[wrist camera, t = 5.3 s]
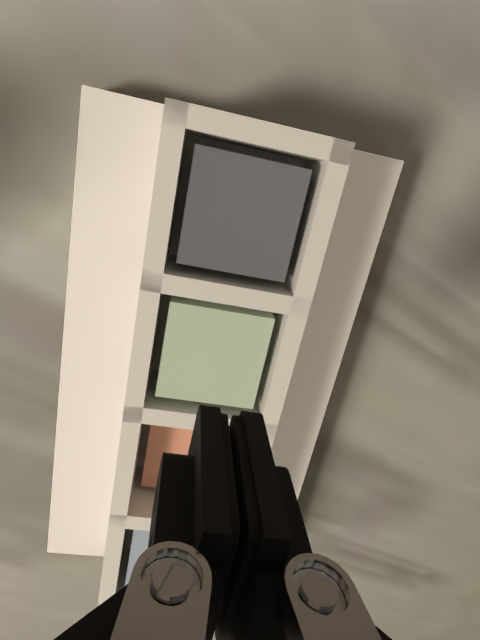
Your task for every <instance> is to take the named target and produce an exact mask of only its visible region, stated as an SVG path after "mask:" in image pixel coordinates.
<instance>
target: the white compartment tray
mask: <svg viewBox="0 0 480 640" xmlns="http://www.w3.org/2000/svg"><path fill="white" fill-rule="evenodd" d="M195 144H199V145H204V146H208V147H213V148H217V149H221V150H226V151H230V152H235V153H239V154H244V155H248V156H253V157H257V158H262V159H266V160H270V161H275V162H279V163H284V164H288V165H293V166H297V167H302V168H306V169H310V170H312V174H311V178H310V182H309V186H308V190H307V194H306V198H305V202H304V206H303V210H302V214H301V218H300V222H299V226H298V230H297V234H296V238H295V242H294V246H293V250H292V254H291V258H290V262H289V266H288V270H287V274H286V278H285V282H284V283H283V282H278V281H272V280H267V279H261V278H256V277H250V276H245V275H239V274H234V273H228V272H222V271H217V270H211V269H206V268H200V267H195V266H189V265H184V264H178V263H176V260H177V253H178V247H179V241H180V235H181V228H182V222H183V216H184V209H185V203H186V197H187V191H188V184H189V178H190V172H191V165H192V159H193V153H194V147H195ZM355 144H356V143H355V142H351V141H347V140H343V139H339V138H334V137H330V136H326V135H322V134H318V133H314V132H309V131H305V130H301V129H297V128H293V127H288V126H284V125H280V124H276V123H272V122H268V121H263V120H259V119H255V118H251V117H247V116H242V115H238V114H234V113H230V112H226V111H221V110H217V109H213V108H209V107H205V106H201V105H196V104H192V103H188V102H184V101H180V100H175V99H171V98H167V97H165V103H164V104H161V103H157V102H153V101H148V100H144V99H140V98H136V97H131V96H127V95H123V94H119V93H115V92H110V91H106V90H102V89H98V88H93V87H89V86H85V85H82V89H81V103H80V116H79V130H78V143H77V157H76V170H75V184H74V197H73V211H72V224H71V238H70V251H69V265H68V278H67V292H66V305H65V319H64V332H63V346H62V359H61V373H60V387H59V400H58V414H57V427H56V441H55V454H54V468H53V481H52V495H51V508H50V522H49V535H48V549H47V552H51V553H65V554H78V555H91V556H104V561H103V569H102V576H101V584H100V591H99V599H98V606H99V605H100V604H102V603H103V602H104V601H106V600H107V599H108V598H110V597H111V596H112V595H114V594H115V593H116V592H118V591H119V590H120V589H122V588H123V587H124V586H125V580H126V574H127V568H128V561H129V555H130V549H131V543H132V536H133V530H143V531H150V525H151V517H152V509H153V502H154V495H155V489H156V487H146V486H141V482H142V476H143V469H144V463H145V457H146V451H147V444H148V438H149V432H150V426H151V425H156V426H164V427H172V428H180V429H189V430H193V429H194V424H195V420H196V415H197V411H198V407H199V405H207V406H214V407H220V409H221V413H224V414H227V415H228V422H229V425H230V421H231V418H232V416H233V415H238V416H239V414H240V412H241V411H249V412H256V413H262V415H263V418H264V422H265V426H266V430H267V434H268V438H269V442H270V446H271V450H272V455H273V459H274V463H275V466H282V467H286V468H287V469H288V470H289V473H290V476H291V480H292V483H293V487H294V490H295V494H296V497H297V500H298V497H299V494H300V491H301V487H302V484H303V481H304V478H305V475H306V471H307V468H308V465H309V462H310V459H311V456H312V452H313V449H314V446H315V443H316V440H317V437H318V433H319V430H320V427H321V424H322V421H323V417H324V414H325V411H326V408H327V405H328V402H329V398H330V395H331V392H332V389H333V386H334V383H335V379H336V376H337V373H338V370H339V367H340V363H341V360H342V357H343V354H344V351H345V348H346V344H347V341H348V338H349V335H350V332H351V329H352V325H353V322H354V319H355V316H356V313H357V309H358V306H359V303H360V300H361V297H362V294H363V290H364V287H365V284H366V281H367V278H368V274H369V271H370V268H371V265H372V262H373V259H374V255H375V252H376V249H377V246H378V243H379V240H380V236H381V233H382V230H383V227H384V224H385V220H386V217H387V214H388V211H389V208H390V205H391V201H392V198H393V195H394V192H395V189H396V186H397V182H398V179H399V176H400V173H401V170H402V166H403V163H404V161H402V160H398V159H394V158H390V157H385V156H381V155H377V154H373V153H368V152H364V151H360V150H356V149H354V147H355ZM171 295H173V296H179V297H185V298H190V299H196V300H202V301H208V302H214V303H220V304H226V305H232V306H238V307H244V308H250V309H255V310H261V311H267V312H272V313H273V315H274V317H275V323H274V327H273V331H272V335H271V339H270V343H269V347H268V351H267V355H266V359H265V363H264V367H263V371H262V375H261V379H260V383H259V387H258V391H257V395H256V399H255V403H254V407H253V409H247V408H240V407H232V406H225V405H217V404H209V403H202V402H194V401H187V400H179V399H172V398H164V397H157V396H155V392H156V385H157V379H158V373H159V367H160V360H161V354H162V348H163V341H164V335H165V329H166V323H167V316H168V310H169V304H170V298H171ZM98 606H97V607H98Z"/></svg>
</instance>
